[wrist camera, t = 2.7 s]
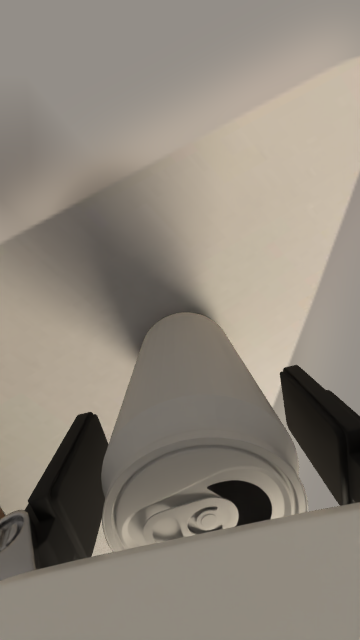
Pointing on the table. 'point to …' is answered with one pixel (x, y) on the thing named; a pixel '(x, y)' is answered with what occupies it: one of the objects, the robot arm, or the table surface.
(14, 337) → the table surface
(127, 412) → the beverage can
